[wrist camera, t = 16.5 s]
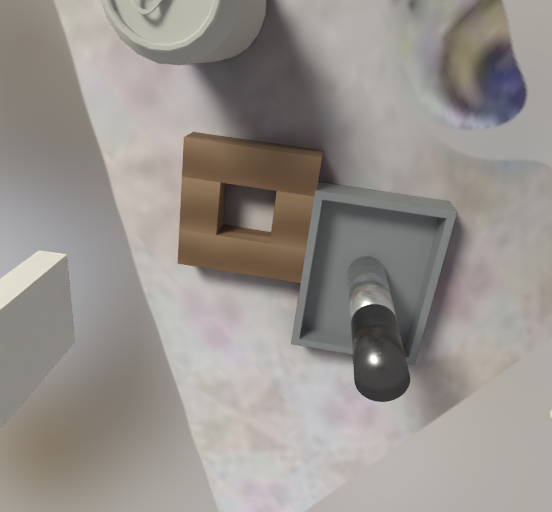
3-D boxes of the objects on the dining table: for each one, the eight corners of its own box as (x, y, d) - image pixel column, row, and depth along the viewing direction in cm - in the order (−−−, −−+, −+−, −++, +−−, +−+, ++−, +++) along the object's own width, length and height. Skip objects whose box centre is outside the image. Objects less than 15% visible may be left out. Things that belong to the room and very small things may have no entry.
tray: (316, 181, 39) (315, 190, 36) (449, 201, 38) (457, 211, 36) (293, 328, 44) (290, 344, 41) (410, 347, 43) (414, 364, 41)
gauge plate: (193, 132, 38) (184, 137, 36) (323, 150, 38) (321, 157, 35) (186, 251, 42) (177, 263, 40) (303, 270, 42) (301, 283, 39)
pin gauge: (351, 253, 40) (360, 352, 27) (388, 259, 40) (415, 361, 27) (344, 286, 41) (350, 396, 28) (381, 292, 41) (403, 405, 28)
